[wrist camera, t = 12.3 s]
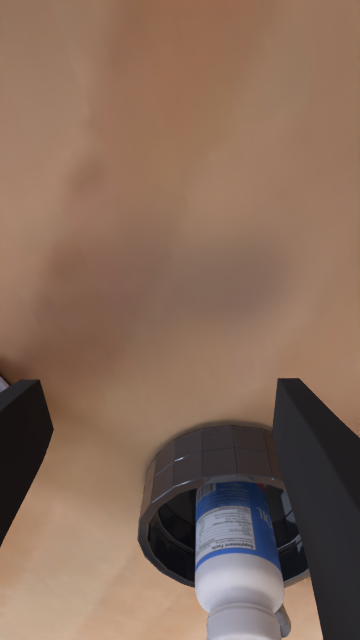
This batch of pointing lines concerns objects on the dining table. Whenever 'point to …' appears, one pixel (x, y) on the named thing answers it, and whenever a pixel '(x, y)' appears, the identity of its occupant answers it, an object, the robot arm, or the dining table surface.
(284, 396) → the robot arm
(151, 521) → the black shallow round container
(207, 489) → the pill bottle
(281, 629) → the handle
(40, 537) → the dining table surface
